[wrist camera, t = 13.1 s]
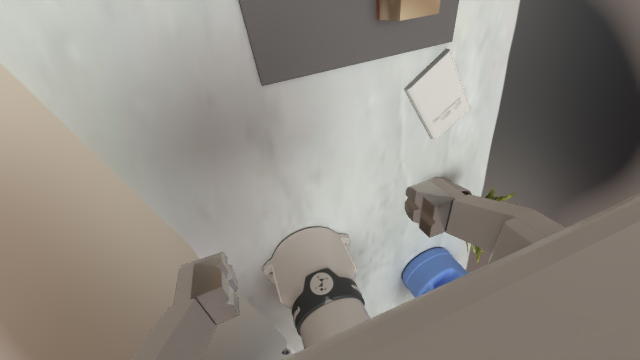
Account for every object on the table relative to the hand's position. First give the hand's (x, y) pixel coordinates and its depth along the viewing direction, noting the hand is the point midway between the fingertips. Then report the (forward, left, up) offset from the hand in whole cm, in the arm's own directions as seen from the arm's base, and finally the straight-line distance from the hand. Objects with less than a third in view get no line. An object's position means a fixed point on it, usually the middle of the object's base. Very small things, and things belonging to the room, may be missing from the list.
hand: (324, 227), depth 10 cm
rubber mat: (+7, -15, -26) cm, 30 cm away
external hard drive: (-8, -29, -26) cm, 40 cm away
